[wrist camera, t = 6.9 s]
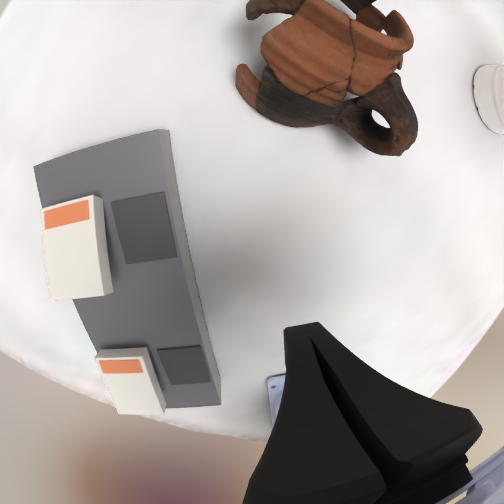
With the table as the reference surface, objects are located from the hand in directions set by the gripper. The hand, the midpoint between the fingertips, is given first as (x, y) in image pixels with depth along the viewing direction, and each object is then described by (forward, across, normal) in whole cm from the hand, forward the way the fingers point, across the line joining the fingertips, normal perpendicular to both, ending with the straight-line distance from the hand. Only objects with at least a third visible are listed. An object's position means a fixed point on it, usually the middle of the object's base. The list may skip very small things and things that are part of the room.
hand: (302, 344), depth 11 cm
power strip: (+9, +9, +2) cm, 13 cm away
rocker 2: (+5, +10, +6) cm, 13 cm away
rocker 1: (+5, +10, -4) cm, 12 cm away
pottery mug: (+10, -4, -12) cm, 16 cm away
